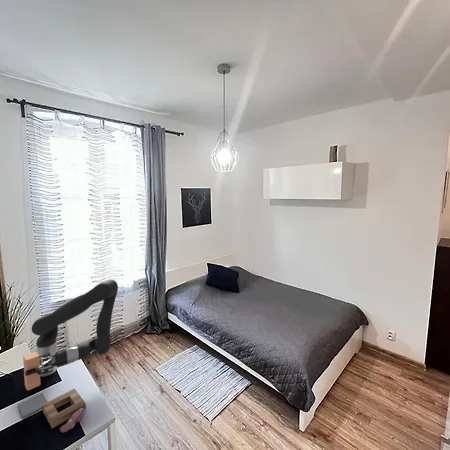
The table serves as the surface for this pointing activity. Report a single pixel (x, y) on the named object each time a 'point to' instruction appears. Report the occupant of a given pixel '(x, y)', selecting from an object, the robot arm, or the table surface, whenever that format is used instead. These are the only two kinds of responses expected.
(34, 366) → the terracotta block
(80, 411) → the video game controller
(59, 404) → the walnut pocket block
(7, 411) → the table surface
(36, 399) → the slate pad
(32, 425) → the table surface
